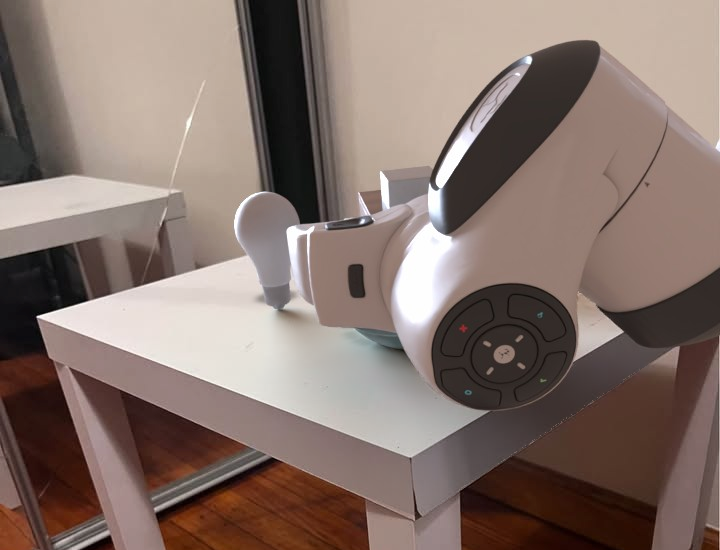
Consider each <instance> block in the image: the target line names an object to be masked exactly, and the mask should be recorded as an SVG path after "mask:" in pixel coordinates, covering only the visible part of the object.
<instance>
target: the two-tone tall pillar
mask: <svg viewBox="0 0 720 550" xmlns="http://www.w3.org/2000/svg"><path fill="white" fill-rule="evenodd" d="M432 171H433V168H432V167H431V166H429V165H423V166H413V167H405V168H396V169H387V170H380V172H379V175H380V190H381V192H382V206H383V210H386V209H388V208H391V207H394V206H397V205H400V204H406V203H408V202H410V201H411V200H413V199H415V198H417V197H420V196H422V195H425V194H429V183H430V177H431V174H432Z"/></svg>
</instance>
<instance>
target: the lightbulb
mask: <svg viewBox="0 0 720 550" xmlns="http://www.w3.org/2000/svg"><path fill="white" fill-rule="evenodd" d="M239 205H240V206H239V207H238V208H237V210H236V213H235V216H234V217H235V218H234V227H233V228H234V233H235V237H236V239H237V242H238V243H239V245H240V246H241V248H242V249H243V251H244V252H245V254H246V255H247V256H248V258H249V260H251V262H252V264H253V267H254V270H255V272H256V275H257V279H258V283H259V284H260V285H261V287H262V294H263V298H264V302H265V304H266V305H267V306H269V307H272V308H273V309H274V310H282V309H284V307H285V306H286V305H287V304H289V303H290V302H291V300H292V299H291V286H290V282H291V279H292V269H291V262H290V256H289V247H288V239H287V230H288V229H289V228H290V227H292V226H296V225H301V223H300V218H299V215H298V212H297V211H296V208H295V207H294V206H293V204H292V203H291V202H290V201H289V200H288V199H287V198H286V197H284V196H282V195H280V194H278V193H276V192H271V191H260V192H256V193H253V194H251V195H250V196H248V197H246V199H244V200H243V202H241V204H239Z"/></svg>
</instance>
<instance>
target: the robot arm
mask: <svg viewBox="0 0 720 550" xmlns="http://www.w3.org/2000/svg"><path fill="white" fill-rule="evenodd" d="M432 169H433V171H432V174H431V177H430V183H429V194H425V195H422V196H420V197H417V198H415V199H413V200H411V201H410V202H408V203H406V204H400V205H397V206H394V207H391V208H388V209H386V210H383V211H381V212H378V213H375V214H372V215H369V216H362V217H360V216H355V217H347V218H346V217H345V218H344V219H341V220H332V221H325V222H324V221H323V222H315V223H300V225H296V226H292V227H290V228H289V229H288V230H287V239H288V247H289V256H290V262H291V269H290V270H291V276H292V280H293V282H294V283H293V284H294V285H295V288H296V290H297V292H298V293H299V295H300V297H301V298H302V299H303V300H304V301H305V302H306V303H308V304H310V305H311V306H313V307H314V311H315V315H316V318H317V322H318V324H319V325H321V326H323V327H325V328H340V329H341V328H342V329H354V328H363V329H377V330H384V331H389V332H393V333H397V335H398V337H399V339H400V342H401V344H402V346H403V348H404V349H403V350H404V353H405V354H406V356H407V357H408V359H409V360H410V362H411V364H412V365H413V367H414V368H415V370H416V371H417V372H418V373H419V375H420V376H421V377H422V378H423V379H424V381H425V382H426V383H427V384H428V385H429V386H430V387H431V388H432V389H433V390H434V391H435V392H436V393H437V394H439V395H440V396H441V397H443V398H445V400H448V401H450V402H451V403H454V404H456V405H459V406H461V407H464V408H467V409H472V410H477V411H485V412H497V411H498V412H499V411H507V410H513V409H518V408H521V407H524V406H528V405H530V404H532V403H534V402H536V401H539V400H540V399H542V398H544V397H545V396H546V395H548V394H549V393H551V392H552V391H553V390H554V389H555V388H556V387H557V386H558V385H560V383H562V381H563V380H564V379H565V378H566V376H567V375H568V373H569V371H570V370H571V368H572V366H573V364H574V361H575V358H576V356H577V352H578V347H579V337H580V336H579V335H580V334H579V332H580V331H579V320H578V298H579V297H578V296H579V293H580V294H581V295H582V296H584V297H585V298H586V299H588V300H590V301H591V302H592V303H594V304H595V306H596V307H597V309H598V311H600V312H601V313H602V314H603V315H604V316H606V318H608V320H609V321H611V322H612V323H613V324H614V325H616V327H618V328H619V329H620V330H621V331H622V332H623V333H625V334H626V335H627V336H628V337H629V338H630V339H631V340H633V341H634V342H635V344H637V345H639V346H641V347H644V348H648V349H668V348H669V349H670V348H678V347H679V348H680V347H684V346H690V345H694V344H698V343H702V342H705V341H708V340H712V339H715V338H716V337H719V336H720V138H719V139H718V141H717V143H716V146H714V145H712V144H711V143H710V142H709V141H708V140H707V139H705V137H703V135H701V134H700V133H699V132H698V131H697V130H696V129H694V128H693V127H692V126H691V125H690V124H689V123H688V122H687V121H686V120H684V119H683V118H682V117H681V116H680V115H679V114H678V113H676V112H675V111H674V110H673V109H672V108H670V106H668V105H667V103H666V101H665V100H664V99H663V98H662V97H660V95H659V94H658V93H657V92H655V91H654V90H653V89H652V88H651V87H650V86H648V84H646V83H645V82H644V81H642V80H641V78H639V76H637V75H636V74H635V73H633V71H631V70H630V69H629V68H627V67H626V66H625V65H624V64H623V63H622V62H620V61H619V60H618V59H617V58H615V57H614V56H613V55H612V54H611V53H610V52H609V51H607V50H606V49H605V48H603V47H602V46H600V43H599V42H598V41H596V40H593V39H578V40H570V41H569V40H568V41H565V42H561V43H557V44H554V45H550V46H548V47H545V48H542V49H539V50H537V51H534V52H532V53H530V54H528V55H525V56H522V57H521V58H519V59H517V60H515V61H514V62H512V63H510V64H509V65H508V66H507V67H505V68H504V69H502V70H501V71H500V72H499V73H498V74H497V75H495V77H494V78H492V79H491V81H489V82H488V84H486V85H485V87H484V88H482V90H481V91H480V92H479V94H478V95H477V96H476V97H475V99H474V100H473V101H472V102H471V104H470V105H469V106H468V108H467V109H466V110H465V112H464V113H463V114H462V115H461V118H460V119H459V120H458V122H457V124H456V125H455V126H454V128H453V130H452V132H451V133H450V135H449V136H448V138H447V140H446V142H445V143H444V145H443V148H442V149H441V151H440V154H439V156H438V157H437V160H436V161H435V164H434V166H433V168H432Z"/></svg>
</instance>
